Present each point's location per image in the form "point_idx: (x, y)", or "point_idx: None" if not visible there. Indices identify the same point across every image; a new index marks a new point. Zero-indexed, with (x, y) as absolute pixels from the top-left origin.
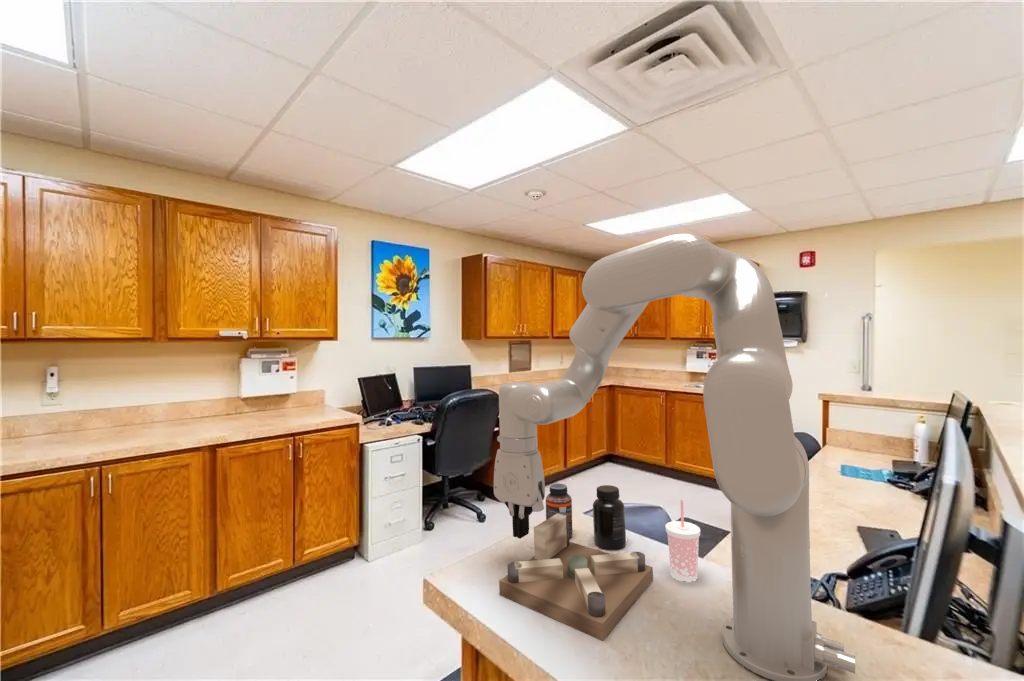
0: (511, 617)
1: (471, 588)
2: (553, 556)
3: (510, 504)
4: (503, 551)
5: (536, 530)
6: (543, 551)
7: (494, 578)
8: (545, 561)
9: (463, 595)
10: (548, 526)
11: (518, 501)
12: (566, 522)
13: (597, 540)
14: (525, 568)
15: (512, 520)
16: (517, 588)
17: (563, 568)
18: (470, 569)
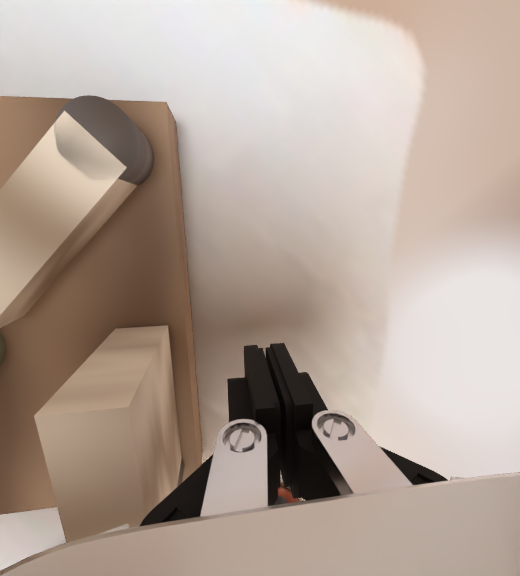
0: (35, 24)
1: (284, 93)
2: None
3: (383, 488)
4: (345, 343)
5: (109, 399)
6: (105, 347)
7: (261, 196)
8: (7, 271)
9: (277, 35)
10: (59, 472)
11: (207, 571)
12: None
13: None
14: (32, 152)
15: (322, 400)
16: (58, 98)
17: (31, 340)
18: (365, 190)
